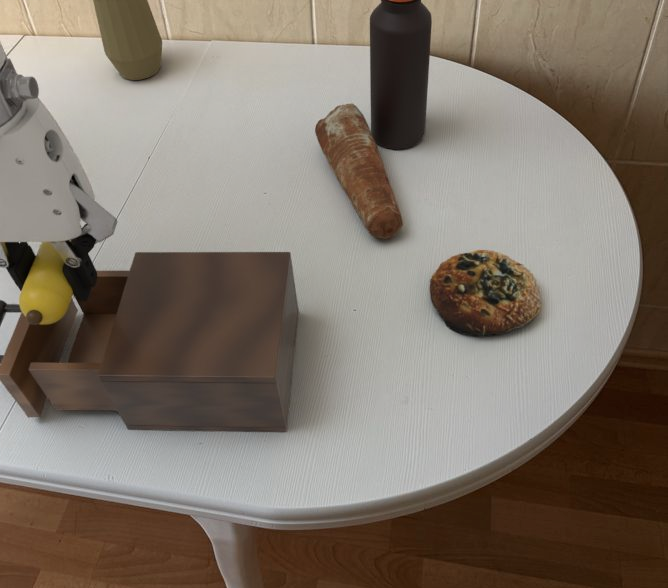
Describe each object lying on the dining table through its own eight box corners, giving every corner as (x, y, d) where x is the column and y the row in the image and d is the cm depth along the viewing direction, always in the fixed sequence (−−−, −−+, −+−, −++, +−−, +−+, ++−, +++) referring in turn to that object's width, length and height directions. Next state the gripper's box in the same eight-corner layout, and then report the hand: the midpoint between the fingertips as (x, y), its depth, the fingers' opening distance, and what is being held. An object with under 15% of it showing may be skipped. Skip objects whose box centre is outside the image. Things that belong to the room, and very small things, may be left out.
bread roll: (418, 328, 69) (424, 290, 65) (437, 260, 76) (443, 222, 73) (532, 353, 67) (545, 314, 63) (540, 280, 74) (552, 242, 71)
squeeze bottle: (176, 56, 102) (143, -79, 88) (156, 88, 97) (117, -49, 83) (125, 52, 103) (84, -82, 89) (102, 83, 99) (55, -53, 84)
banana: (57, 250, 63) (41, 218, 60) (97, 249, 62) (83, 218, 59) (21, 341, 56) (1, 311, 53) (65, 341, 56) (48, 311, 53)
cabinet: (127, 429, 64) (97, 375, 57) (158, 311, 72) (135, 251, 66) (286, 432, 63) (275, 377, 56) (298, 311, 71) (290, 251, 65)
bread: (363, 137, 88) (363, 97, 84) (410, 239, 77) (412, 200, 72) (315, 146, 87) (311, 107, 83) (354, 251, 76) (353, 212, 72)
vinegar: (421, 153, 86) (431, -14, 70) (366, 148, 87) (363, -16, 71) (427, 119, 90) (438, -45, 74) (375, 115, 91) (374, -47, 75)
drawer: (-25, 416, 65) (-62, 374, 59) (19, 309, 72) (-10, 263, 67) (172, 419, 63) (153, 376, 58) (196, 310, 71) (181, 263, 66)
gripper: (100, 61, 47) (167, 257, 61) (-139, 66, 48) (-17, 257, 62) (68, 130, 42) (149, 323, 57) (-194, 134, 43) (-49, 323, 58)
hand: (61, 287), depth 59 cm, fingers closed on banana, 3 cm apart
